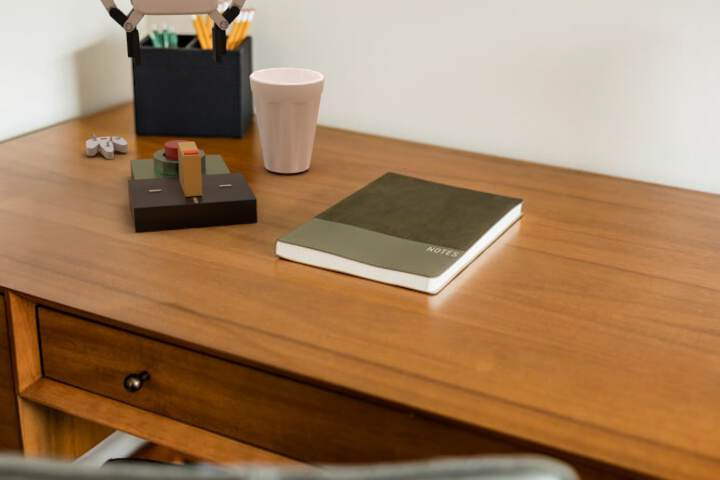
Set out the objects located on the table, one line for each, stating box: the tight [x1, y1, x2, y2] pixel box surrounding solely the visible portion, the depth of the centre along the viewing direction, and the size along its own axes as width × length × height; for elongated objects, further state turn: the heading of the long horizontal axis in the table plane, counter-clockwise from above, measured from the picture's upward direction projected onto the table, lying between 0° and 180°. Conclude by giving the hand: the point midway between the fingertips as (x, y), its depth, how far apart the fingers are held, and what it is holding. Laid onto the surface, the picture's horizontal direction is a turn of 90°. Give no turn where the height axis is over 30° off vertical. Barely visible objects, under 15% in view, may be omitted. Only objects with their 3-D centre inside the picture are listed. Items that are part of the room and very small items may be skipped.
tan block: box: [178, 141, 202, 197], centre depth 106 cm, size 6×2×5 cm, turn 17°
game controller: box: [85, 133, 129, 160], centre depth 130 cm, size 6×12×3 cm, turn 45°
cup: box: [249, 67, 326, 174], centre depth 122 cm, size 10×10×13 cm
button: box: [164, 139, 191, 159], centre depth 116 cm, size 4×4×2 cm
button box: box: [129, 148, 231, 180], centre depth 117 cm, size 12×9×4 cm
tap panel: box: [127, 172, 258, 233], centre depth 108 cm, size 14×10×3 cm
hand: (177, 62), depth 110 cm, fingers open, 9 cm apart
